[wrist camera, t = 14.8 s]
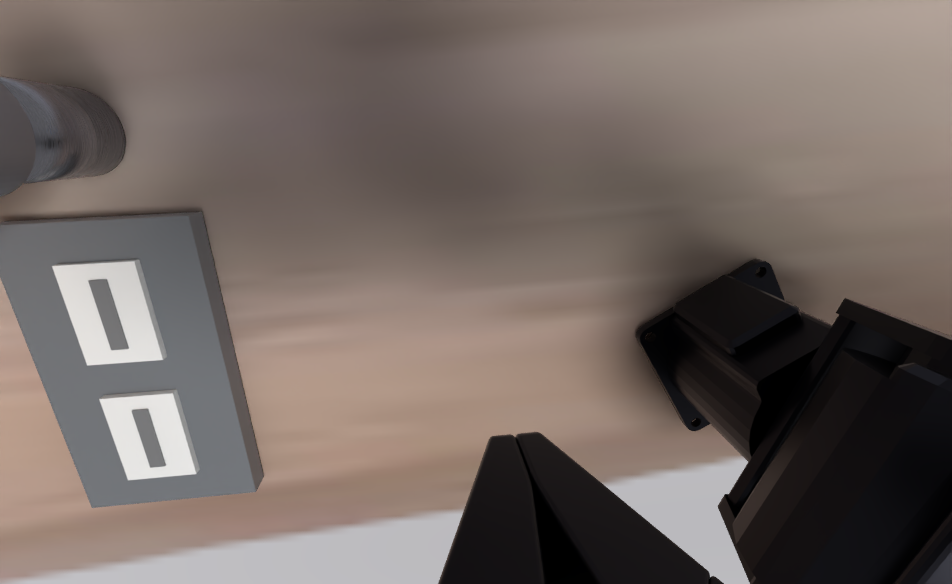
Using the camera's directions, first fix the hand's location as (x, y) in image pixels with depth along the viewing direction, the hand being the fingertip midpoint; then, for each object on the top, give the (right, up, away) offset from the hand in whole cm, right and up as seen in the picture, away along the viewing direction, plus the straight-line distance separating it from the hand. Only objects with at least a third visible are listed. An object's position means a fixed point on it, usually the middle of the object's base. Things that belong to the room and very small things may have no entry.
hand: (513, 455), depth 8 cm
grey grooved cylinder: (-15, +8, +8) cm, 19 cm away
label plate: (-14, 0, +11) cm, 18 cm away
